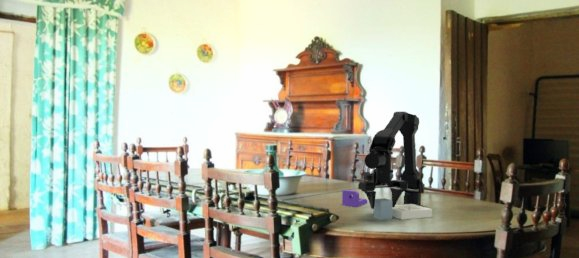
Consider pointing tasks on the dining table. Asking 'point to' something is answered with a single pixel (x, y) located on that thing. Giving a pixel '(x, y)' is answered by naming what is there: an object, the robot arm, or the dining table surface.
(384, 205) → the block
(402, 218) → the well
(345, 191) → the bracket
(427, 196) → the dining table surface
